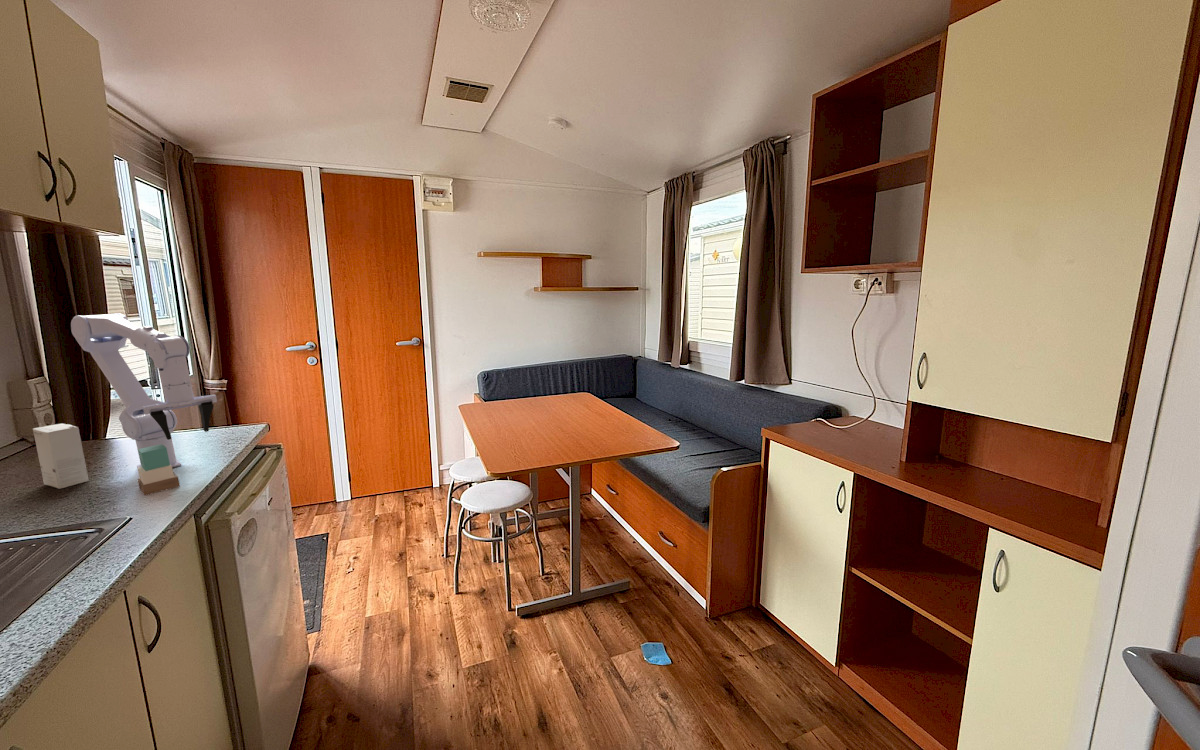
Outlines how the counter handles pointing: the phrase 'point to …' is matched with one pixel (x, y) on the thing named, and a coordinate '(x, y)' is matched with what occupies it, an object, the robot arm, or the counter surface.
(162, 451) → the teal block
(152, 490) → the walnut base slab
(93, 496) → the counter surface
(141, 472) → the cream middle slab
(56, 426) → the skincare box
